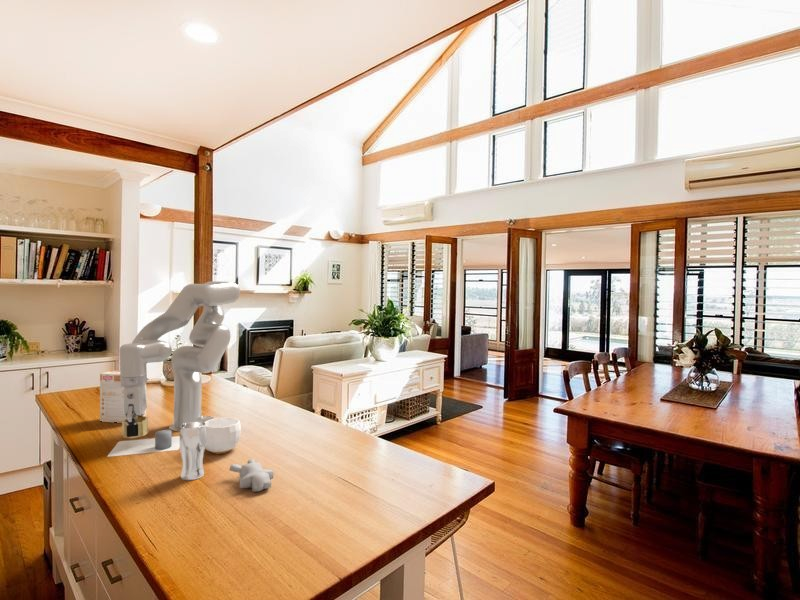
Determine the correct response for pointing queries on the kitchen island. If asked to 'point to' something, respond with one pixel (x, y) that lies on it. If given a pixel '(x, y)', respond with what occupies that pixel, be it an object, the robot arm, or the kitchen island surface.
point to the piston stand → (147, 444)
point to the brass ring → (142, 426)
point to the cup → (222, 434)
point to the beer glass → (192, 449)
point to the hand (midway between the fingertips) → (135, 431)
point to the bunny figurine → (253, 475)
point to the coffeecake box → (112, 397)
